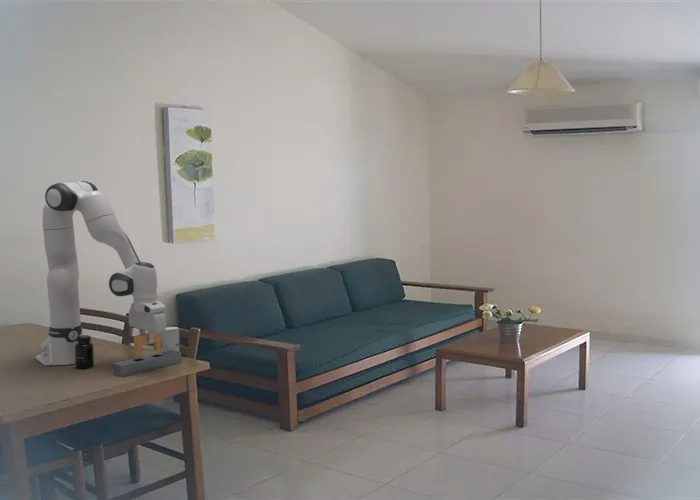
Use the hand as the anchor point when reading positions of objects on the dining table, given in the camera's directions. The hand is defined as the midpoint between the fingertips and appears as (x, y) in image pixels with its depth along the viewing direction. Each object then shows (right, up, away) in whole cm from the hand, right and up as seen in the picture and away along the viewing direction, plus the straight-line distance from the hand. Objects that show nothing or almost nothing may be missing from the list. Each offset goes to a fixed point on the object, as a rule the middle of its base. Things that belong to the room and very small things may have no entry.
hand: (147, 341), depth 271 cm
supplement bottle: (-25, -11, +3) cm, 27 cm away
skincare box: (+5, -9, +17) cm, 20 cm away
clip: (0, -4, +1) cm, 4 cm away
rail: (0, -11, +1) cm, 11 cm away
